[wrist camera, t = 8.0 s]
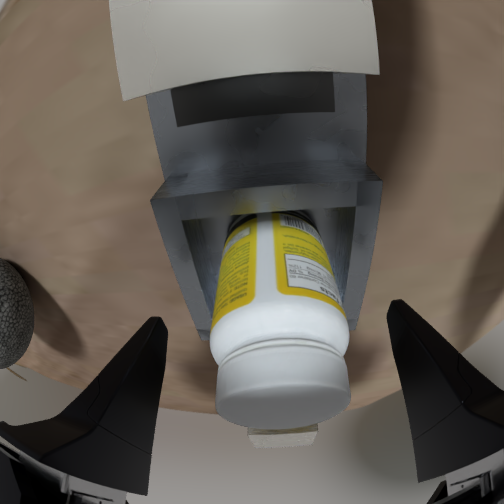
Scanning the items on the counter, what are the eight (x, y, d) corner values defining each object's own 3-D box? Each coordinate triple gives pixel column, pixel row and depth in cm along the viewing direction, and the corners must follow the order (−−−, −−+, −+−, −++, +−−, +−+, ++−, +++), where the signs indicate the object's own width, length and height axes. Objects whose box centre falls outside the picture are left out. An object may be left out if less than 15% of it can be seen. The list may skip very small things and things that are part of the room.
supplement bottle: (236, 285, 15) (224, 434, 9) (214, 211, 13) (170, 382, 6) (322, 273, 15) (353, 422, 8) (317, 195, 12) (378, 362, 5)
